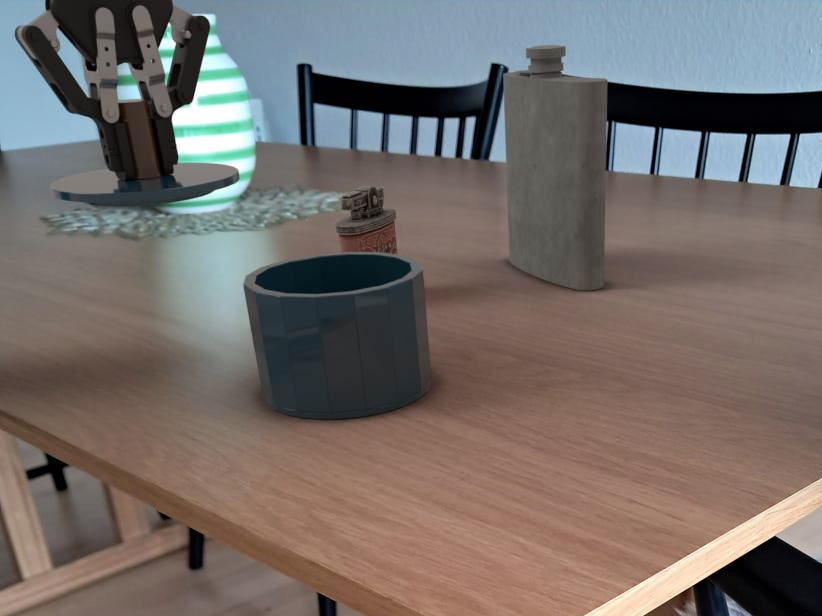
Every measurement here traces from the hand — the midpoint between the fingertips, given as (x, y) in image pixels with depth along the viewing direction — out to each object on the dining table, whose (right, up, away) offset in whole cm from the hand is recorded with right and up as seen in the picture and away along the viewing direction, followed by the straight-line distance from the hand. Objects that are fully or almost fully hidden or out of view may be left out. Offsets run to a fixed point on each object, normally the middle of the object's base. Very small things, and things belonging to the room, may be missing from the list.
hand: (144, 175), depth 75 cm
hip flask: (+32, +2, +28) cm, 42 cm away
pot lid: (0, -1, 0) cm, 1 cm away
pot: (+15, -15, +2) cm, 21 cm away
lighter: (+15, -2, +23) cm, 27 cm away
